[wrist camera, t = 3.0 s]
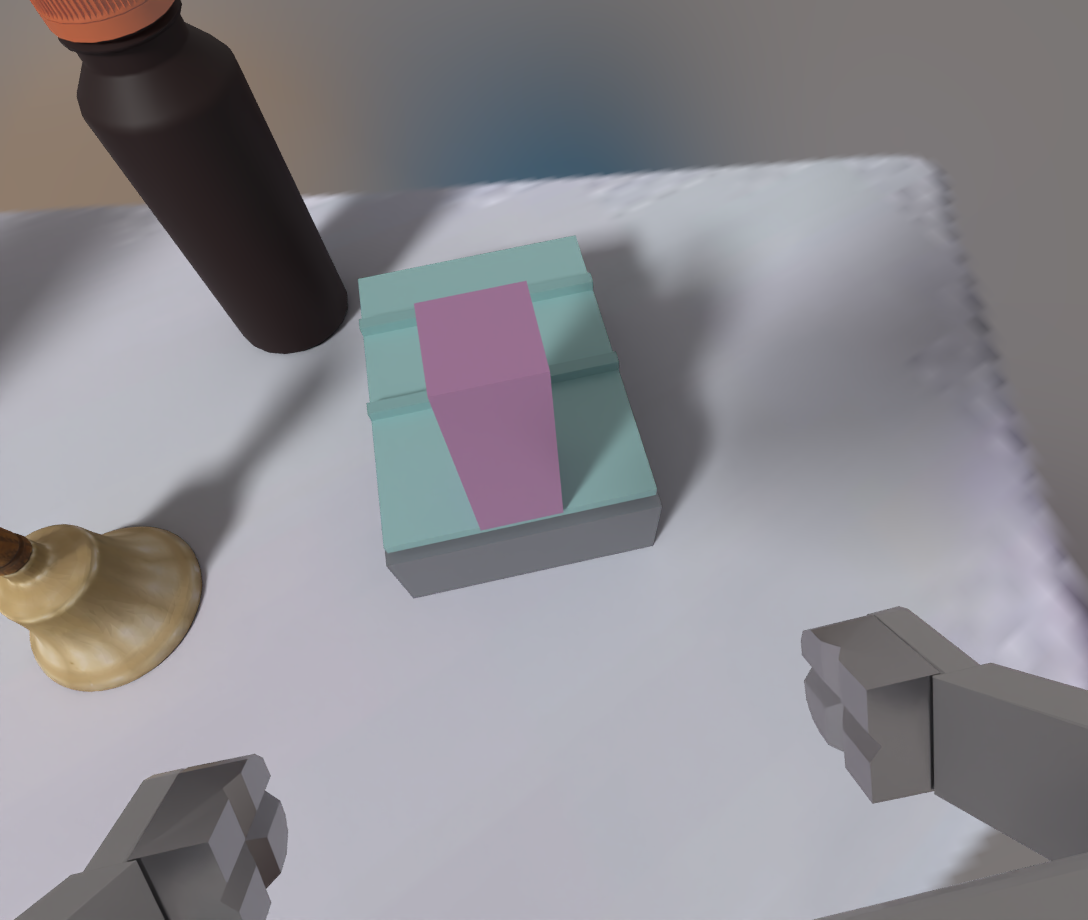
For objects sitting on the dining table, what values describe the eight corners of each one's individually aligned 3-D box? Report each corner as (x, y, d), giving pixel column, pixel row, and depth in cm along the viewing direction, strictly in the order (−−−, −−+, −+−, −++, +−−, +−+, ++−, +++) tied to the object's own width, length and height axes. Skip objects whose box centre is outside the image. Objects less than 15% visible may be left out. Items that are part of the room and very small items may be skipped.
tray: (384, 343, 40) (359, 287, 35) (579, 303, 40) (577, 243, 36) (413, 598, 32) (386, 566, 28) (652, 545, 32) (662, 506, 28)
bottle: (254, 275, 43) (19, -97, 25) (356, 269, 43) (190, -112, 25) (232, 359, 40) (-56, 1, 22) (342, 354, 39) (139, -15, 22)
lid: (361, 287, 35) (276, 95, 25) (575, 243, 35) (569, 40, 26) (388, 556, 28) (283, 427, 18) (656, 498, 28) (689, 342, 19)
